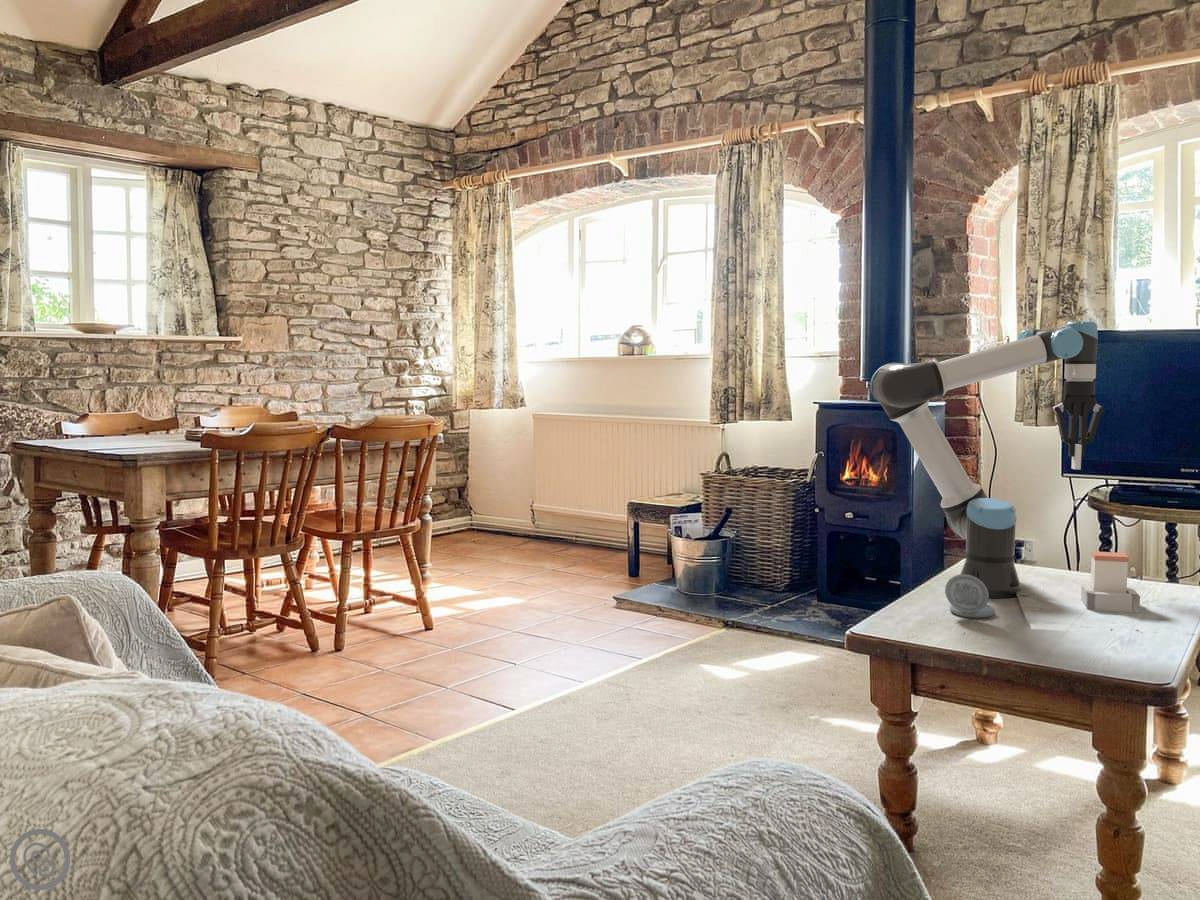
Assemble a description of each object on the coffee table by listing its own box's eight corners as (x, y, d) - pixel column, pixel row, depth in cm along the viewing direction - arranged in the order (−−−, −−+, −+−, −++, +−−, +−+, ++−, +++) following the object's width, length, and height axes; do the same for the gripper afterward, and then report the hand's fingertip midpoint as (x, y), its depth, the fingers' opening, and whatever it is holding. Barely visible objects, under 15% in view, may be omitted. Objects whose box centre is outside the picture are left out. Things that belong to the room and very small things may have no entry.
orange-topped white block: (1089, 599, 242) (1091, 551, 241) (1122, 601, 240) (1124, 552, 238) (1092, 604, 237) (1094, 555, 236) (1126, 607, 235) (1128, 557, 234)
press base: (1068, 595, 251) (1069, 575, 251) (1130, 599, 247) (1131, 579, 246) (1080, 615, 232) (1081, 594, 232) (1147, 619, 228) (1148, 598, 228)
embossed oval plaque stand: (943, 572, 230) (958, 560, 242) (942, 618, 231) (957, 604, 243) (988, 577, 224) (1001, 565, 237) (987, 624, 225) (1000, 609, 238)
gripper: (1100, 379, 265) (1096, 467, 267) (1049, 379, 266) (1045, 467, 269) (1111, 380, 257) (1107, 470, 260) (1058, 380, 259) (1054, 470, 261)
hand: (1075, 468), depth 264 cm, fingers closed
